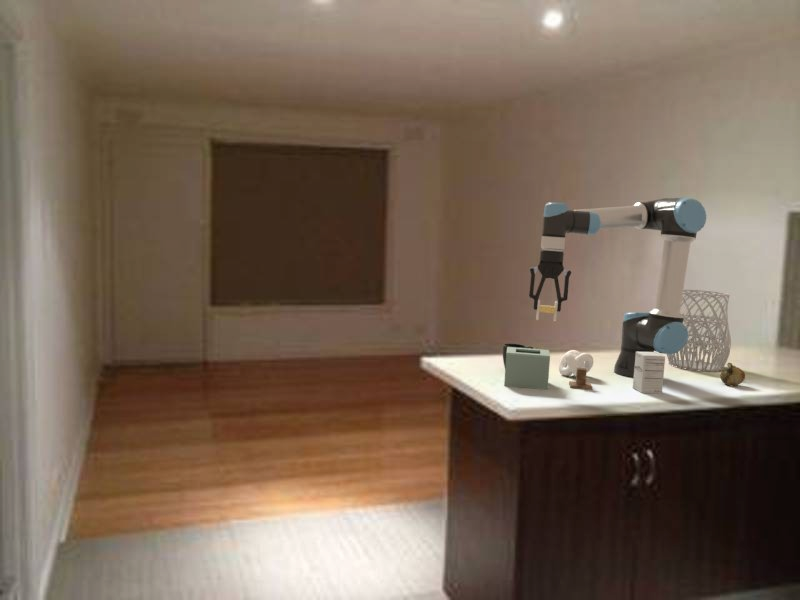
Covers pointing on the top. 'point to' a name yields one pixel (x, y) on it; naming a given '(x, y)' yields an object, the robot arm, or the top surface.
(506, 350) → the mug
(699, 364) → the vase
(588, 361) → the white knot sculpture
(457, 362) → the top surface
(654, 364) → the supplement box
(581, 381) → the token stand
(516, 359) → the box
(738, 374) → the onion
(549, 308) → the panel
